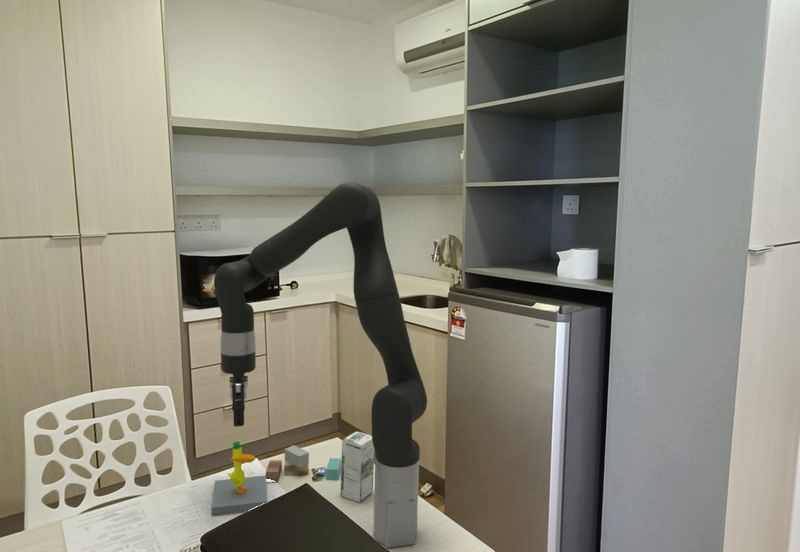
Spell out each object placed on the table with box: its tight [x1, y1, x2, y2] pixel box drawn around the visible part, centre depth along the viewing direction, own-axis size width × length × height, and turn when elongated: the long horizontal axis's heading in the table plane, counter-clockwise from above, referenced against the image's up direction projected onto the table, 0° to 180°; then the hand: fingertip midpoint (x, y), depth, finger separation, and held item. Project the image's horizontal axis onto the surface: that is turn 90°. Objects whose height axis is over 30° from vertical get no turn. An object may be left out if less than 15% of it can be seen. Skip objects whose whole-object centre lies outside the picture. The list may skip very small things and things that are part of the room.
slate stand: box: [211, 474, 268, 517], centre depth 126 cm, size 12×12×2 cm
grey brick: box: [284, 444, 310, 468], centre depth 139 cm, size 6×3×3 cm, turn 50°
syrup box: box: [339, 431, 375, 503], centre depth 128 cm, size 6×6×14 cm
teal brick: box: [325, 457, 342, 481], centre depth 139 cm, size 6×3×3 cm, turn 178°
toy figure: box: [227, 440, 256, 494], centre depth 125 cm, size 7×4×12 cm, turn 85°
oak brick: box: [283, 459, 309, 477], centre depth 139 cm, size 6×3×3 cm, turn 98°
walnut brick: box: [265, 459, 283, 483], centre depth 137 cm, size 6×3×3 cm, turn 3°
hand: (239, 418), depth 123 cm, fingers open, 8 cm apart
